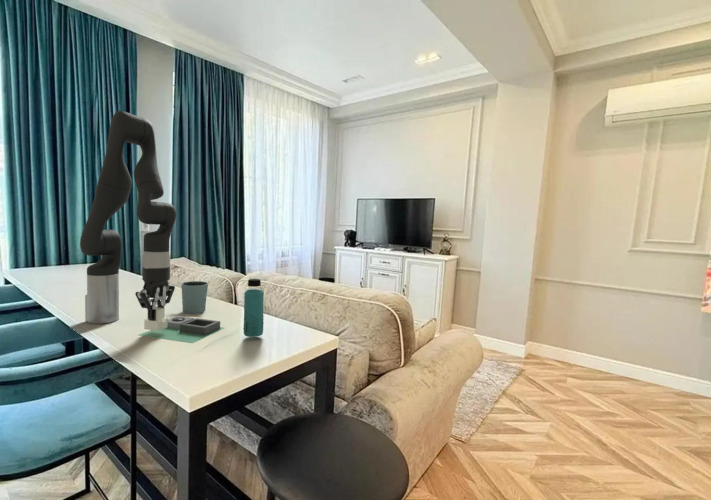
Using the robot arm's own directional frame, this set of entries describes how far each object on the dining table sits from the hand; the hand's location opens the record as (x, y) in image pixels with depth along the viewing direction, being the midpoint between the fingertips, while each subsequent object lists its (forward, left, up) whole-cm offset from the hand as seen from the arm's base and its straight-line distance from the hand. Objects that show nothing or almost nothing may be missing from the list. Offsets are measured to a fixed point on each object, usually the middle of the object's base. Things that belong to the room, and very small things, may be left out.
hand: (155, 318), depth 107 cm
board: (+6, +5, -6) cm, 10 cm away
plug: (0, 0, -3) cm, 3 cm away
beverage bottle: (+28, +11, -7) cm, 31 cm away
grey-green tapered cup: (-11, +31, -7) cm, 34 cm away
